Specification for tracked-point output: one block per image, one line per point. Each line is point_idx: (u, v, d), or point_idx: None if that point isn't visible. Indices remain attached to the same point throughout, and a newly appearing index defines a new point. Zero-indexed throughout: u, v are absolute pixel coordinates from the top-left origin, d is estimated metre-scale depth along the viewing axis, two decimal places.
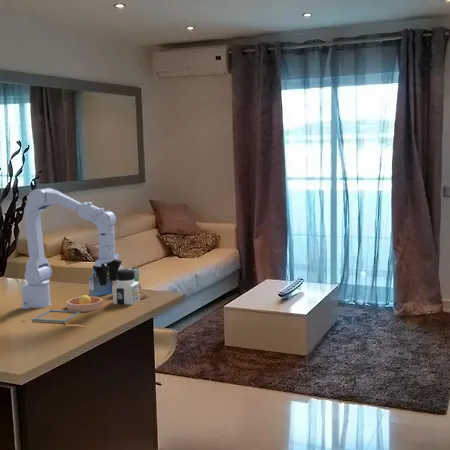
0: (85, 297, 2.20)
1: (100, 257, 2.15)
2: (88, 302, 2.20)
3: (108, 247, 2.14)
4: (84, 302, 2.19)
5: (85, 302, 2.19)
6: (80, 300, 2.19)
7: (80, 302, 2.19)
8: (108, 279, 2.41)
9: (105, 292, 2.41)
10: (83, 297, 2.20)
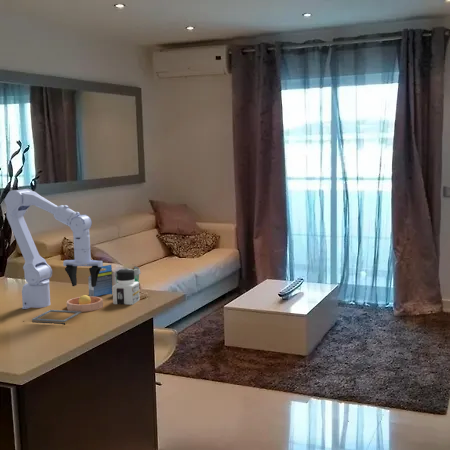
0: (85, 297, 2.20)
1: None
2: (88, 302, 2.20)
3: (74, 250, 2.18)
4: (84, 302, 2.19)
5: (85, 302, 2.19)
6: (80, 300, 2.19)
7: (80, 302, 2.19)
8: (108, 279, 2.41)
9: (105, 292, 2.41)
10: (83, 297, 2.20)
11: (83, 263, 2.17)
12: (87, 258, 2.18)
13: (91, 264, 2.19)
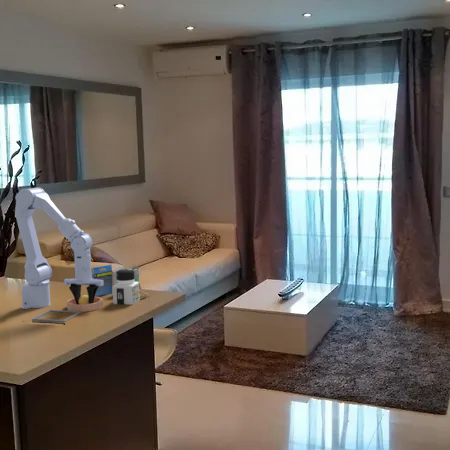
0: (85, 297, 2.20)
1: None
2: (88, 302, 2.20)
3: (75, 269, 2.19)
4: (84, 302, 2.19)
5: (85, 302, 2.19)
6: (80, 300, 2.19)
7: (80, 302, 2.19)
8: (108, 279, 2.41)
9: (105, 292, 2.41)
10: (83, 297, 2.20)
11: (84, 282, 2.17)
12: (88, 277, 2.18)
13: (92, 283, 2.19)
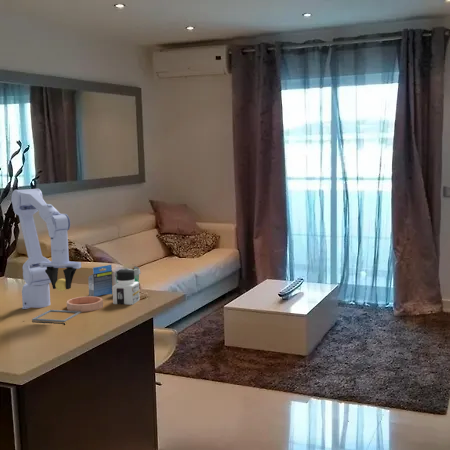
0: (62, 280, 2.10)
1: None
2: (65, 286, 2.10)
3: (51, 251, 2.08)
4: (61, 286, 2.09)
5: (62, 286, 2.09)
6: (57, 284, 2.09)
7: (57, 286, 2.09)
8: (108, 279, 2.41)
9: (105, 292, 2.41)
10: (60, 280, 2.10)
11: (61, 265, 2.07)
12: (65, 260, 2.08)
13: (69, 266, 2.09)
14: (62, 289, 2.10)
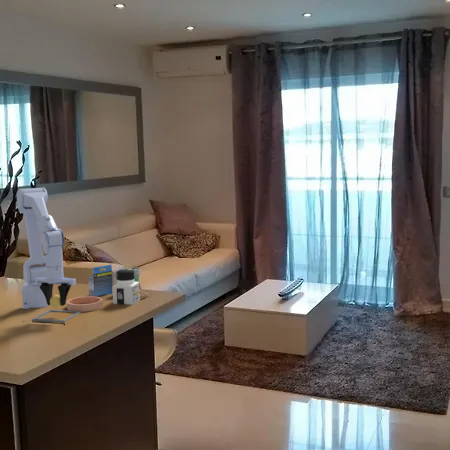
0: (56, 297, 2.08)
1: None
2: None
3: (46, 267, 2.07)
4: (55, 302, 2.07)
5: (56, 302, 2.07)
6: (51, 300, 2.08)
7: (51, 302, 2.08)
8: (108, 279, 2.41)
9: (105, 292, 2.41)
10: (54, 297, 2.08)
11: (55, 281, 2.05)
12: (60, 276, 2.06)
13: (64, 282, 2.07)
14: (57, 305, 2.08)
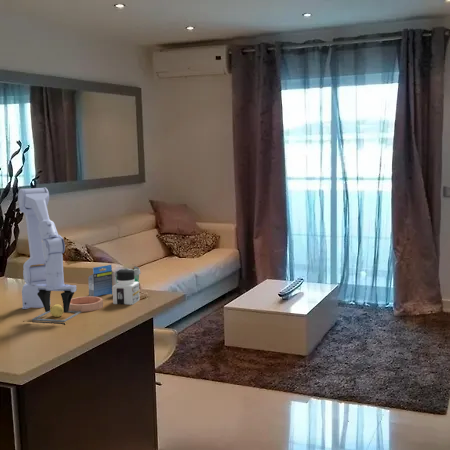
0: (57, 306, 2.08)
1: None
2: (60, 312, 2.08)
3: (46, 274, 2.07)
4: (56, 312, 2.08)
5: (57, 312, 2.08)
6: (52, 310, 2.08)
7: (52, 312, 2.08)
8: (108, 279, 2.41)
9: (105, 292, 2.41)
10: (55, 306, 2.08)
11: (55, 288, 2.06)
12: (60, 283, 2.07)
13: (64, 289, 2.08)
14: (57, 315, 2.08)
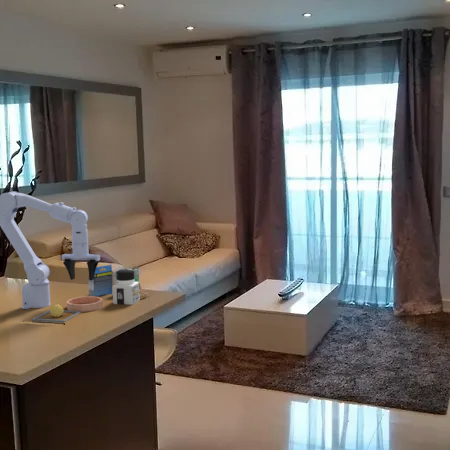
0: (57, 306, 2.08)
1: None
2: (60, 312, 2.08)
3: (72, 244, 2.23)
4: (56, 312, 2.08)
5: (57, 312, 2.08)
6: (51, 310, 2.08)
7: (51, 312, 2.08)
8: (108, 279, 2.41)
9: (105, 292, 2.41)
10: (54, 307, 2.08)
11: (81, 257, 2.21)
12: (85, 252, 2.22)
13: (89, 258, 2.23)
14: (57, 315, 2.08)
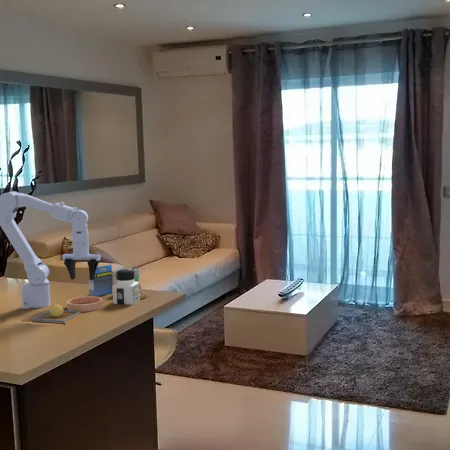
0: (56, 306, 2.08)
1: None
2: (60, 311, 2.08)
3: (73, 244, 2.23)
4: (55, 312, 2.08)
5: (56, 312, 2.08)
6: (51, 310, 2.08)
7: (51, 312, 2.08)
8: (108, 279, 2.41)
9: (105, 292, 2.41)
10: (54, 307, 2.08)
11: (81, 257, 2.22)
12: (86, 252, 2.23)
13: (89, 258, 2.24)
14: (57, 315, 2.08)
